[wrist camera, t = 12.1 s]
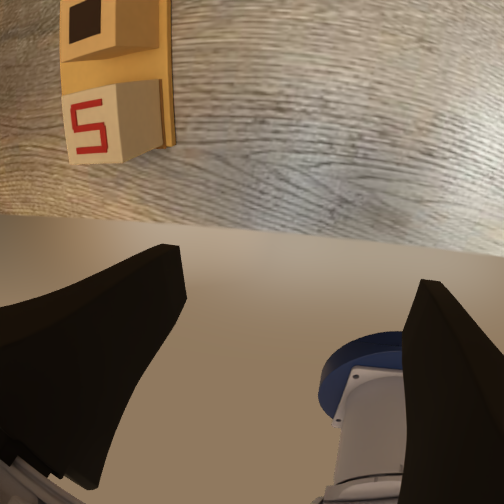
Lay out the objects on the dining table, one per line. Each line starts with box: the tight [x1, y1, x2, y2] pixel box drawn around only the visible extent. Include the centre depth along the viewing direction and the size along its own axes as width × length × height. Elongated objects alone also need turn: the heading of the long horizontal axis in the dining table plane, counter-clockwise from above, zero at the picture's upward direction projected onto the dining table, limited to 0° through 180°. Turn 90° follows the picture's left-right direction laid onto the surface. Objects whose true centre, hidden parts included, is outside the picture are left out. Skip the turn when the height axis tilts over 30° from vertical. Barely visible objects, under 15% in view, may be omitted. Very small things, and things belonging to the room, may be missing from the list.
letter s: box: [61, 79, 163, 165], centre depth 15 cm, size 4×4×4 cm
